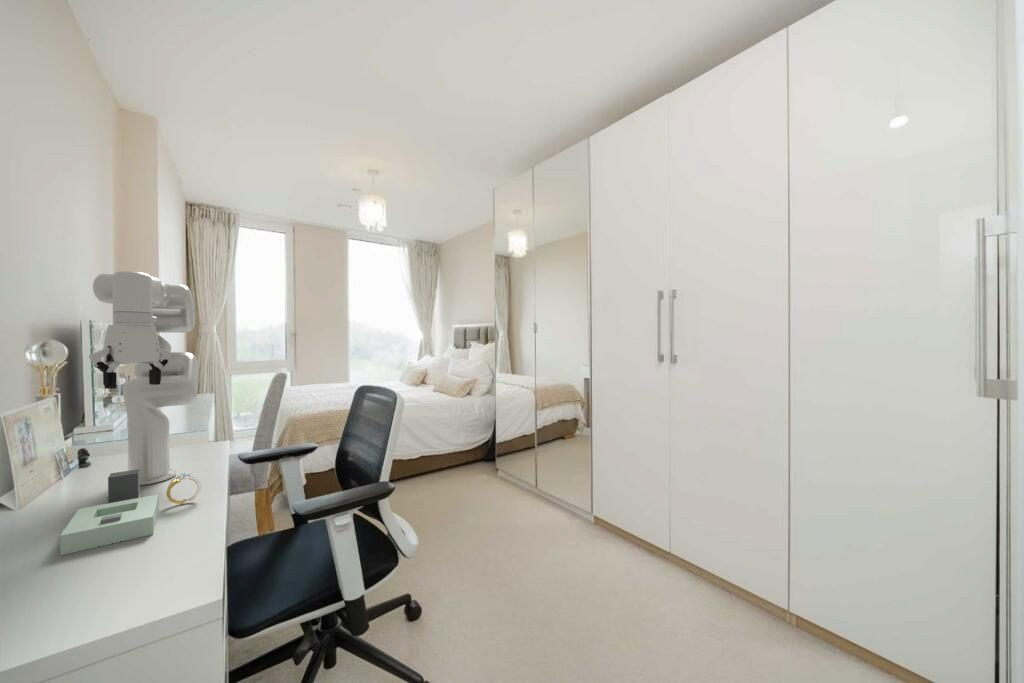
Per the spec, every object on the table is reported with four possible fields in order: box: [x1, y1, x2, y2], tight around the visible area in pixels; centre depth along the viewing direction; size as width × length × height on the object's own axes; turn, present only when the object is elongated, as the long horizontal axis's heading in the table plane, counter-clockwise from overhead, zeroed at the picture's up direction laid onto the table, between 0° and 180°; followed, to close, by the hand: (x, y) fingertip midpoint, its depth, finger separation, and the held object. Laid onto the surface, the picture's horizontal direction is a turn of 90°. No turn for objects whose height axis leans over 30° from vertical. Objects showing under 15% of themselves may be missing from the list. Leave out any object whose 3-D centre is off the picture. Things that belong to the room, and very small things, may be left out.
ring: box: [166, 472, 202, 505], centre depth 106 cm, size 7×3×8 cm, turn 125°
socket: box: [59, 494, 160, 556], centre depth 92 cm, size 16×14×5 cm
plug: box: [107, 469, 141, 504], centre depth 104 cm, size 4×6×9 cm
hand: (133, 386), depth 104 cm, fingers open, 9 cm apart
